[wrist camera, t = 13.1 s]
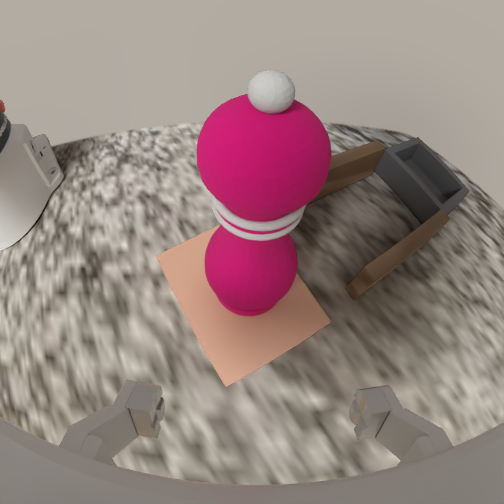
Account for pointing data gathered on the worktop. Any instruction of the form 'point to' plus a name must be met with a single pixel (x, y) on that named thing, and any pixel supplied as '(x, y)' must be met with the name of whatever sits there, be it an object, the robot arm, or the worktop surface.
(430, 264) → the worktop surface
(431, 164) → the box
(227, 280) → the pepper mill
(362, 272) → the walnut channel
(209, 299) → the terracotta board
